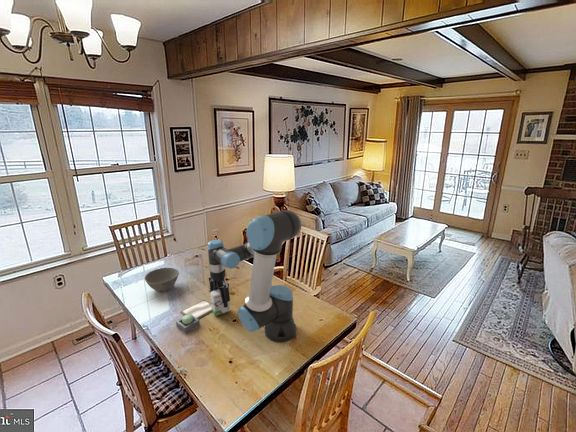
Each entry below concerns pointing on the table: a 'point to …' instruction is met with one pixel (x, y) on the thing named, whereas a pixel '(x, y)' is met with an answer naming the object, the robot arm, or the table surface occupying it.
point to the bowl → (162, 278)
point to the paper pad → (198, 309)
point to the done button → (187, 320)
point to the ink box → (217, 302)
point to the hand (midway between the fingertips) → (221, 309)
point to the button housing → (188, 327)
